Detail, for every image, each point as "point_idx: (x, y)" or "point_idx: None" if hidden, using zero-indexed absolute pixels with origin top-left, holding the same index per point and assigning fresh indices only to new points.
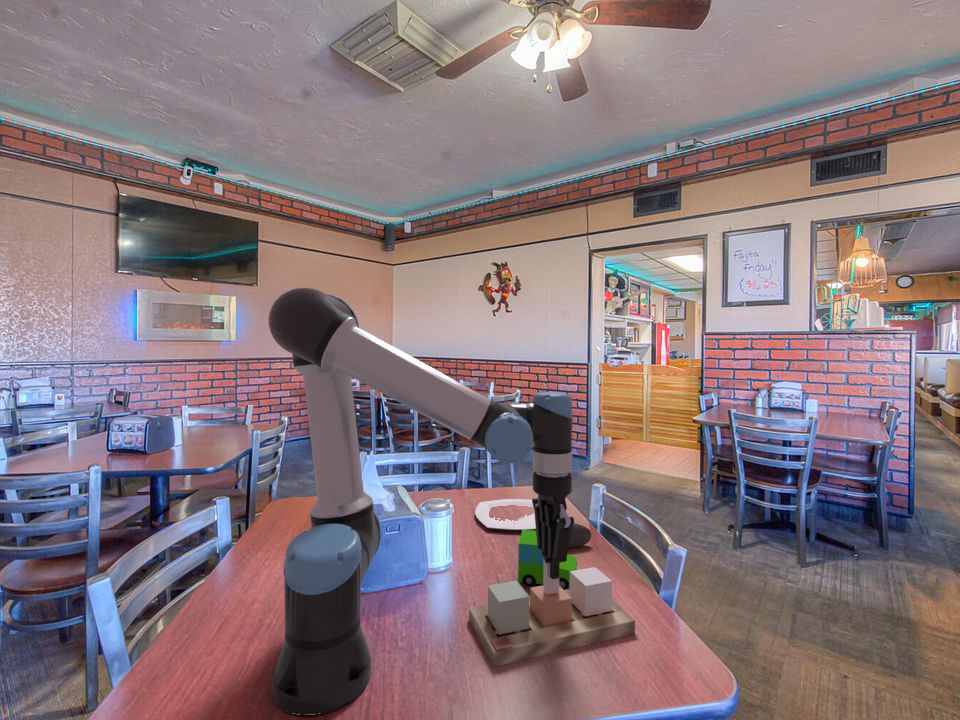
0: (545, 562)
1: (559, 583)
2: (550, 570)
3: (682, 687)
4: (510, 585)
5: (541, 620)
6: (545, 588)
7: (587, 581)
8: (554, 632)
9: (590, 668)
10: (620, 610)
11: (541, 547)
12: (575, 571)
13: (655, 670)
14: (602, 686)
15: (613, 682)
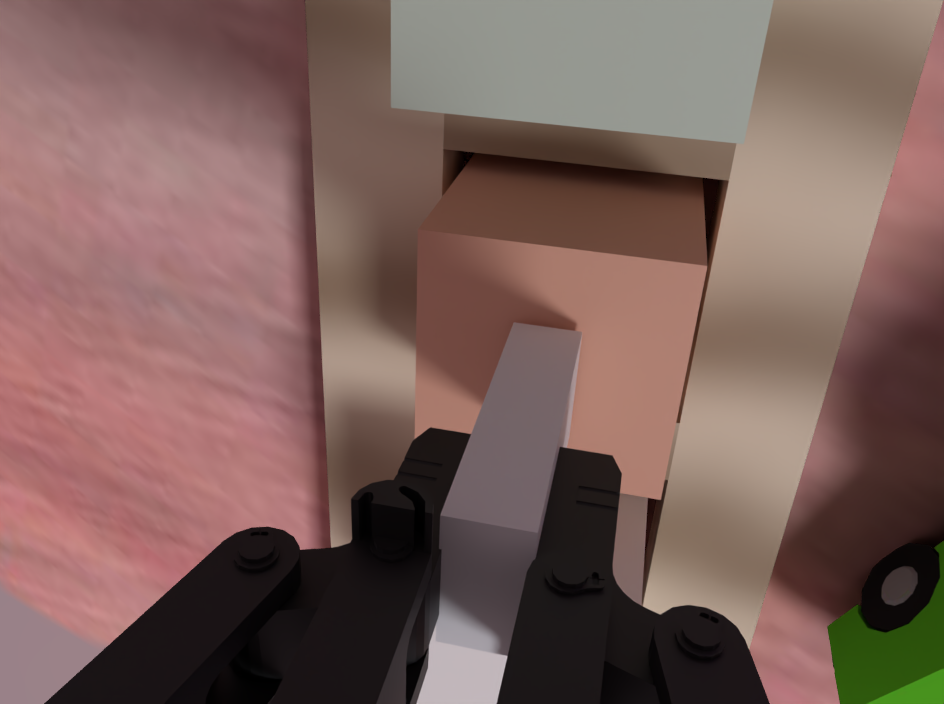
0: (407, 484)
1: (915, 579)
2: (452, 478)
3: (28, 482)
4: (679, 18)
5: (491, 180)
6: (533, 347)
7: (444, 648)
8: (369, 196)
9: (185, 237)
10: None
11: (649, 646)
12: None
13: (124, 472)
14: (66, 208)
15: (83, 271)
